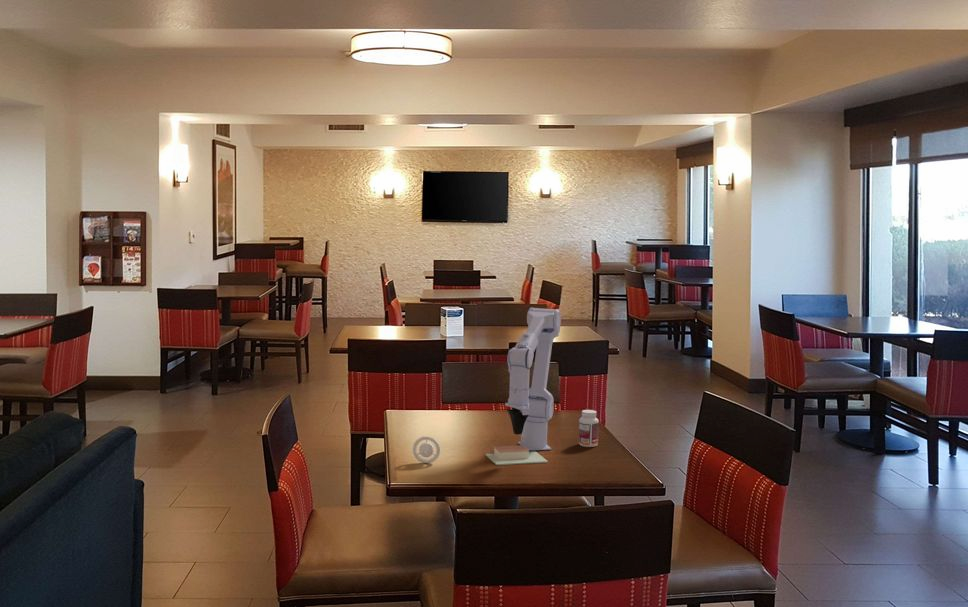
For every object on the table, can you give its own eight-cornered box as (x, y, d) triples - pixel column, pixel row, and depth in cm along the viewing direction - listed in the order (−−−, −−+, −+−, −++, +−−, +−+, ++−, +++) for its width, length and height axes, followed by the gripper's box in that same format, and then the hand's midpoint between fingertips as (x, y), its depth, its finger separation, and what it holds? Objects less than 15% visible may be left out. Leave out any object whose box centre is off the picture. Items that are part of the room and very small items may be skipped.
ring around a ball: (440, 462, 264) (441, 435, 263) (438, 467, 258) (438, 440, 257) (413, 460, 264) (413, 434, 263) (410, 466, 259) (411, 439, 258)
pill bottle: (594, 442, 292) (595, 409, 291) (600, 447, 286) (601, 413, 285) (576, 442, 291) (577, 409, 290) (581, 447, 285) (582, 413, 284)
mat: (485, 455, 273) (485, 453, 273) (535, 452, 277) (535, 451, 277) (496, 465, 262) (496, 463, 262) (547, 462, 267) (547, 461, 267)
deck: (499, 459, 267) (494, 454, 272) (528, 458, 269) (522, 452, 275) (500, 451, 266) (494, 446, 272) (528, 450, 269) (522, 445, 275)
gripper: (499, 384, 270) (497, 428, 271) (513, 393, 256) (512, 440, 257) (521, 383, 272) (519, 427, 273) (537, 393, 258) (535, 439, 259)
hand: (517, 433), depth 265 cm, fingers closed
